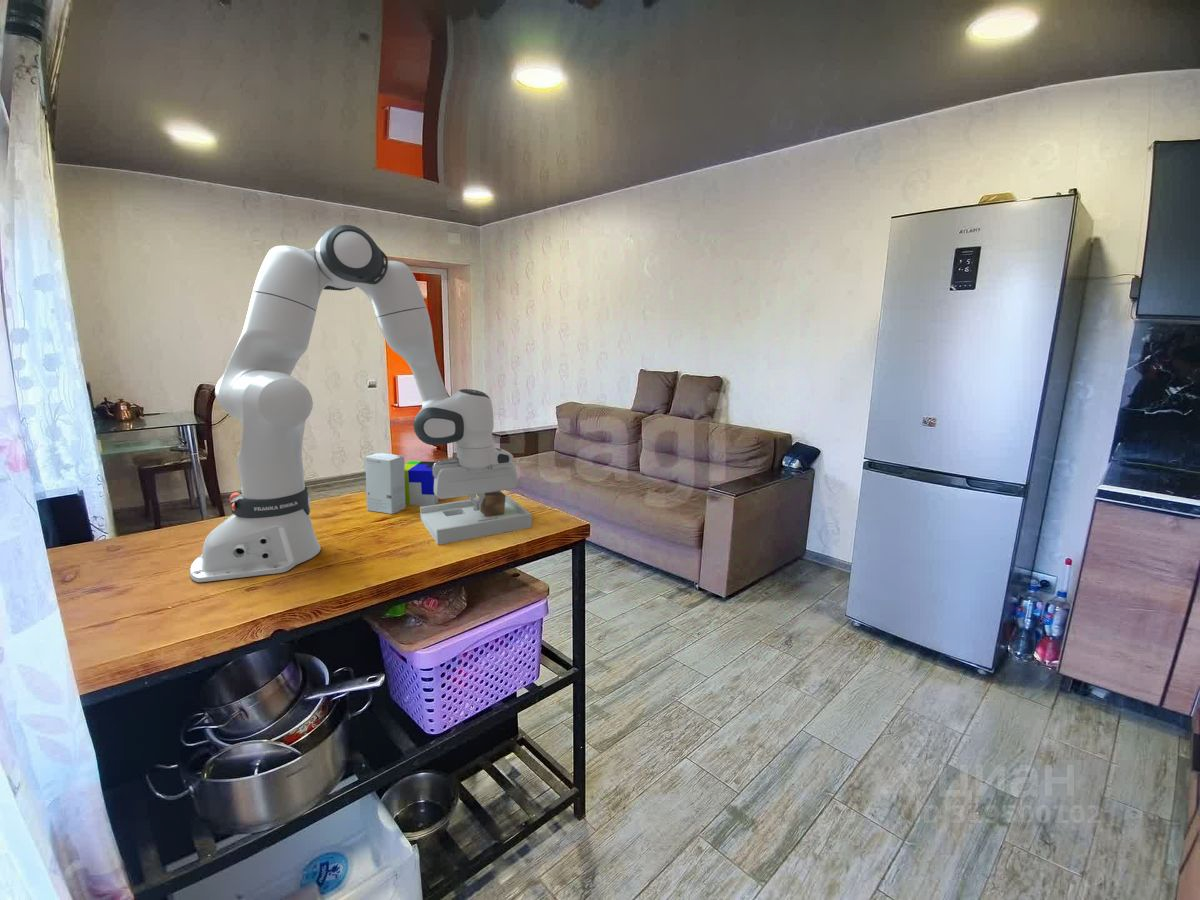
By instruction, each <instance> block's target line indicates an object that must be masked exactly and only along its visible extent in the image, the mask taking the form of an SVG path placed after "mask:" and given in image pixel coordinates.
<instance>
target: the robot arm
mask: <svg viewBox="0 0 1200 900" xmlns="http://www.w3.org/2000/svg"><path fill="white" fill-rule="evenodd" d="M356 288H358V289H359V290H361V291H363V293H364V294H365V295H366V296H367V297H368V300H369V301H370V303H371V304H372V308H373V312H374V315H375V318H376V322H377V324H378V327H379V330H380V332H381V334H382V336H383V338H384V340H385V342H386V343H387V345H388V347H389V348H390V349H391V350H392V351H393V352H394V353H396V354H397V355H399V356H400V357H401V358H402V359H403V360H404V361H405V363H407V365H408V366H409V368H410V370H411V372H412V375H413V377H414V379H415V384H416V386H417V390H418V392H419V394H420V397H421V409H420V410H419V412H418V413H417V414H416V416H415V417H414V419H413V431H414V434H415V435H416V437H417V439H419V440H420V441H421V442H422V443H424V444H426V445H429V446H441V445H442V446H443V445H447V444H452V443H456V457H455V458H448V459H439V460H438V461H435V462H436V463H435V464H434V465H433V468H432V472H433V476H434V494H435V495H436V496H437V497H438V498H439V499H441V500H444V499H450V498H458V497H465V496H467V497H468V498H469V500H471V501H472V503H473V510H474V511H479V510H481V503H482V501H483V500H484V498H485V493H489V492H496V491H501V492H503V491H507V490H508V491H509V490H510V491H511V490H514V489H516V487H517V486H518V475H517V469H516V466H515V464H514V455H513V454H512V453H511V452H509V451H508V450H505V449H503V448H497V447H495V442H494V439H493V430H494V424H495V423H494V410H493V403H492V399H491V398H490V397H489V395H488V394H487V393H485V392H483V391H479V390H477V389H470V388H469V389H467V388H463V389H459V390H458V391H456V392H455V393H453V394H452V395H449V393H448V391H447V388H446V385H445V382H444V379H443V376H442V373H441V371H440V367H439V365H438V361H437V357H436V352H435V346H434V345H435V343H434V336H433V335H434V334H433V329H432V323H431V319H430V314H429V311H428V308H427V304H426V302H425V299H424V298H425V297H424V295H423V292H422V290H421V288H420V286H419V283H418V281H417V279H416V277H415V275H414V273H413V272H412V270H411V267H409V266H408V265H407V264H405V263H404V262H401V261H398V260H392V259H391V260H388V256H387V255H386V253H385V252H384V251H383V250H382V249H381V248H380V247H379V246H378V245H377V243H376V241H374V239H373V238H372V237H371V236H370V235H369V234H368V233H367V232H366V231H364V230H363V229H362V228H360V227H357V226H355V225H351V224H339V225H335V226H333V227H331V228H329V229H327V230H326V231H325V233H324V234H322V236H321V237H320V238H319V239H318V241H317V242H316V243H315V245H314V246H313V247H312V248H310V249H302V248H299V247H297V246H293V245H287V244H285V245H283V244H282V245H276V246H274V247H272V248H271V249H270V250H269V251H268V252H267V253H266V256H265V257H264V260H263V261H262V264H261V266H260V269H259V270H258V273H257V276H256V278H255V282H254V285H253V288H252V293H251V296H250V297H251V298H250V301H249V305H248V310H247V313H246V318H245V321H244V325H243V328H242V332H241V334H240V337H239V339H238V342H237V344H236V346H235V348H234V351H233V352H232V354H231V357H230V359H229V361H228V363H227V366H226V367H225V370H224V372H223V374H222V376H221V377H220V378H219V379H218V381H217V383H216V385H215V388H214V389H215V390H214V395H215V398H216V401H217V403H218V404H219V406H220V408H222V409H223V411H225V413H226V414H228V415H229V416H230V417H232V418H234V419H237V420H238V421H239V420H240V422H241V427H242V428H241V429H242V431H241V441H240V449H239V452H238V454H237V457H236V462H237V469H238V476H239V483H240V489H241V490H240V491H241V493H239V492H233V493H231V495H230V496H229V503H230V509H231V515H230V516H228V517H227V518H225V520H224V521H222V522H221V523H220V524H218V525H217V526H216V527H214V529H212V530H211V531H210V532H209V533H208V534H207V536H206V538H205V540H204V543H203V546H202V551H201V553H202V554H201V555H199V556H198V557H197V558H195V559H194V561H193V562H192V563H191V565H190V568H189V572H190V573H189V574H190V575H189V577H190V578H191V580H193V581H194V582H197V583H205V582H213V581H214V582H215V581H223V580H230V579H239V578H247V577H249V578H250V577H257V576H258V577H259V576H265V575H266V576H267V575H273V574H274V575H275V574H281V573H286V572H288V571H289V570H291V569H292V568H294V567H295V566H298V565H299V564H301V563H304V562H306V561H309V560H310V559H312V558H314V557H316V555H318V554H319V553H320V551H321V548H322V547H321V545H320V543H319V541H318V538H317V536H316V534H315V531H314V527H313V523H312V521H311V516H310V514H311V501H310V492H309V490H308V487H307V486H306V485H305V474H304V465H303V454H302V453H303V440H304V439H303V438H304V433H305V425H306V420H307V419H308V418H309V416H310V415H311V412H312V409H313V403H314V402H313V396H312V394H311V392H310V390H309V389H308V387H307V386H306V385H304V384H303V383H302V382H301V381H299V380H298V379H296V378H295V377H294V376H291V375H292V374H293V371H294V369H295V367H296V365H297V363H298V361H299V360H300V359H301V357H302V356H303V355H304V353H306V351H307V350H308V347H309V344H310V341H311V337H312V332H313V328H314V327H313V326H314V322H315V317H316V315H317V310H318V304H319V300H320V298H321V295H322V293H323V290H327V291H328V290H329V291H340V292H341V291H343V292H344V291H349V290H352V289H356ZM438 463H439V464H438ZM436 464H438V465H436ZM477 498H478V499H477ZM475 499H477V501H475Z"/></svg>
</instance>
